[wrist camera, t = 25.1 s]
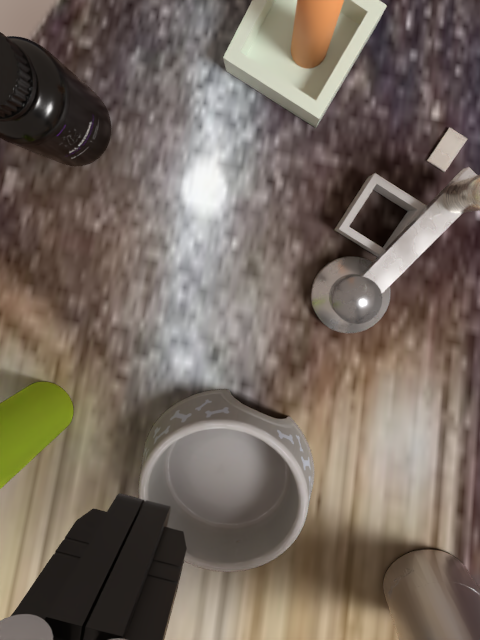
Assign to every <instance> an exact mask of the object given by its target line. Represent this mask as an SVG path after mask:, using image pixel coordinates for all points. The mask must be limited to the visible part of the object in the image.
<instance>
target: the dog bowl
mask: <svg viewBox="0 0 480 640" xmlns="http://www.w3.org/2000/svg"><path fill="white" fill-rule="evenodd" d="M313 482H314V463H313V457H312V453H311V450H310V447H309V444H308V442H307V440H306V438H305V436H304V434H303V433H302V431H301V429H300V428H299V427H298V425H297V424H296V423H295V422H294V420H293V419H292V418H291V417H290V416H289V417H287V418H285V419H276V418H273V417H270V416H268V415H265V414H263V413H261V412H259V411H256V410H254V409H252V408H250V407H248V406H246V405H244V404H242V403H240V402H239V401H238V400H237V399H235V398H234V397H233V396H232V395H231V393H230V391H229V390H228V389H219V390H210V391H205V392H201V393H197V394H195V395H192V396H189V397H187V398H185V399H183V400H181V401H179V402H178V403H176V404H175V405H173V406H172V407H170V408H169V409H168V410H166V411H165V412H164V413H163V414H162V415H161V416H160V417H159V419H158V420H157V421H156V422H155V424H154V425H153V427H152V429H151V430H150V432H149V435H148V437H147V440H146V443H145V447H144V452H143V460H142V467H141V473H140V479H139V490H138V493H139V499H143V500H144V501H146V500H148V501H152V502H156V503H160V504H163V505H167V506H171V510H170V515H169V520H168V524H167V527H168V528H172V529H176V530H180V531H183V532H184V537H185V542H186V547H187V550H186V554H185V558H184V561H185V562H187V563H189V564H192V565H194V566H197V567H200V568H204V569H208V570H214V571H223V572H234V571H243V570H248V569H252V568H256V567H259V566H261V565H264V564H266V563H268V562H270V561H272V560H274V559H275V558H277V557H278V556H279V555H281V554H282V553H283V552H285V551H286V550H287V549H288V548H289V547H290V546H291V545H292V543H293V542H294V541H295V540H296V538H297V537H298V535H299V533H300V532H301V530H302V527H303V525H304V523H305V520H306V516H307V512H308V506H309V501H310V496H311V492H312V488H313ZM238 541H239V542H238Z"/></svg>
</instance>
